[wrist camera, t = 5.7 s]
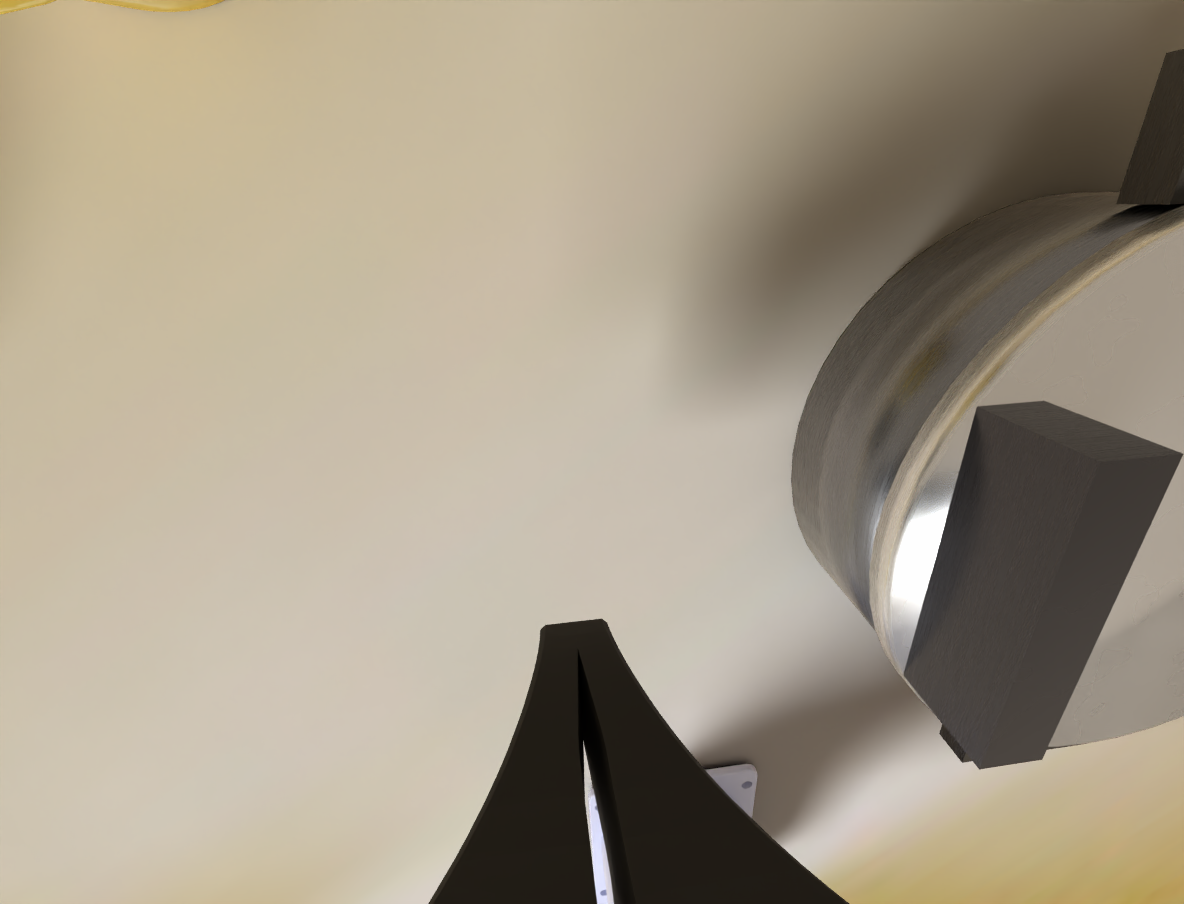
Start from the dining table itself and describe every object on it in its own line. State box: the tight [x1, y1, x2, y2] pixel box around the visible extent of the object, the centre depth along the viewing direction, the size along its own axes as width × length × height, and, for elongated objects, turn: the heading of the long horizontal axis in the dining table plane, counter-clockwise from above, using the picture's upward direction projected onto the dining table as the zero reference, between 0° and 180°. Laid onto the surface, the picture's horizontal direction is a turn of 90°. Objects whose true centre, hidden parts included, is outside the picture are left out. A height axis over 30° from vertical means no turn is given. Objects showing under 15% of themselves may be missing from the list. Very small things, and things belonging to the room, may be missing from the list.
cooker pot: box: [791, 49, 1184, 763], centre depth 18 cm, size 22×16×5 cm
